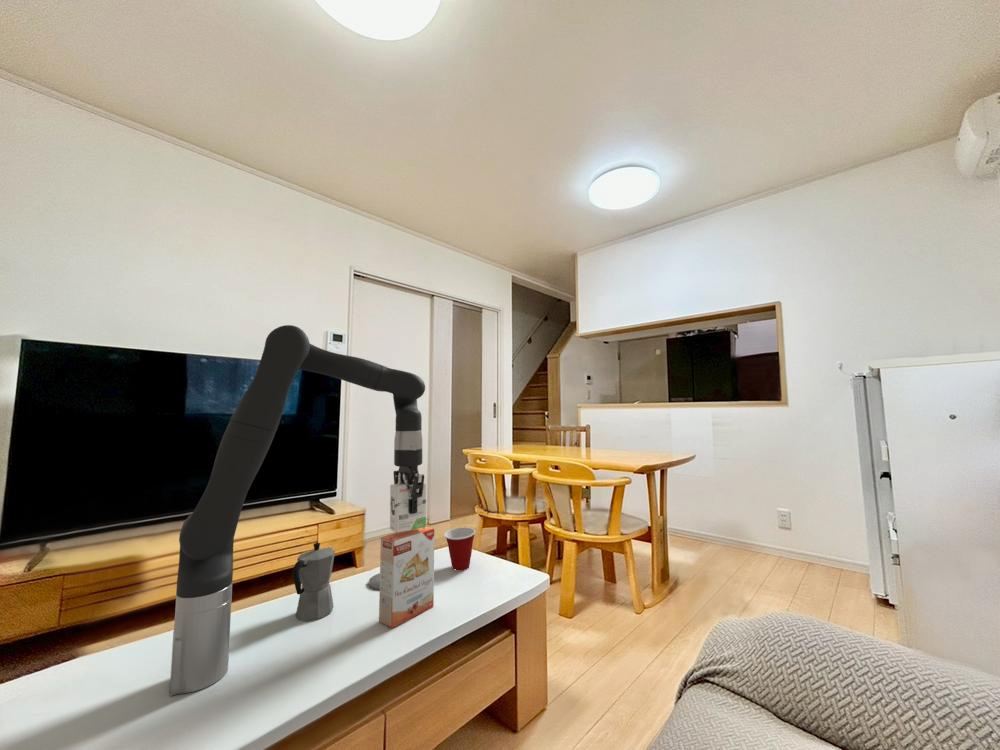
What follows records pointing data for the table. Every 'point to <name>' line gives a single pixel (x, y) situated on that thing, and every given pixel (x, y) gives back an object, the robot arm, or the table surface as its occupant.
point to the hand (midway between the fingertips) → (407, 511)
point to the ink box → (406, 509)
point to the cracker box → (406, 575)
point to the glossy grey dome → (375, 581)
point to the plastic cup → (460, 546)
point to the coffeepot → (314, 583)
